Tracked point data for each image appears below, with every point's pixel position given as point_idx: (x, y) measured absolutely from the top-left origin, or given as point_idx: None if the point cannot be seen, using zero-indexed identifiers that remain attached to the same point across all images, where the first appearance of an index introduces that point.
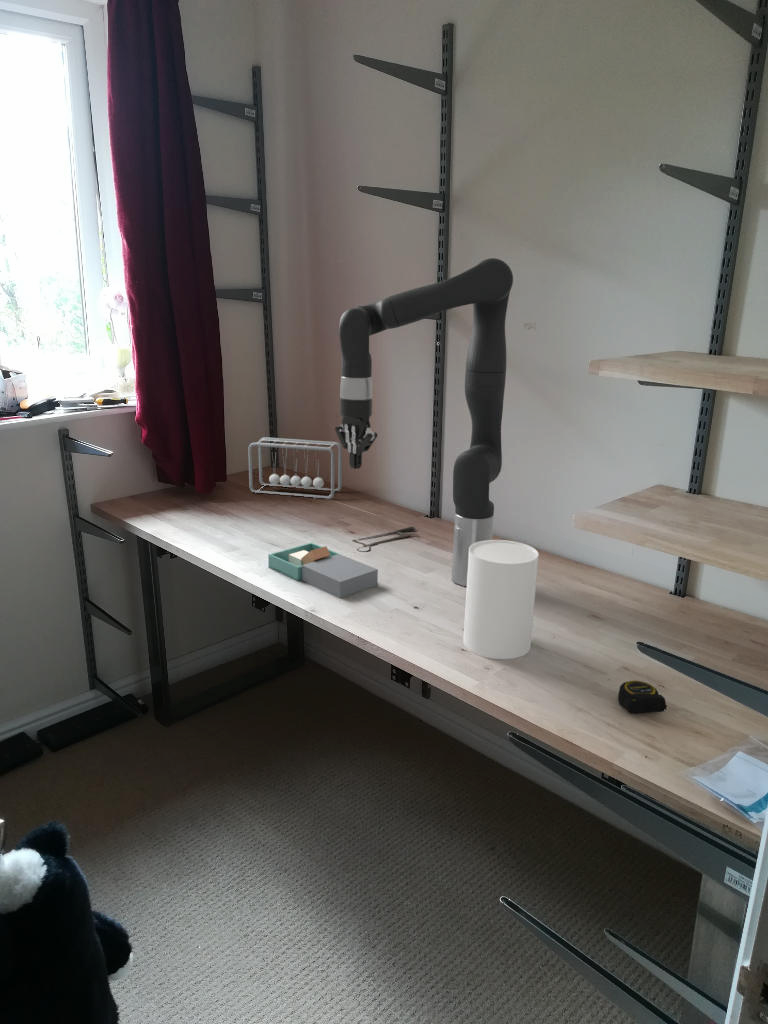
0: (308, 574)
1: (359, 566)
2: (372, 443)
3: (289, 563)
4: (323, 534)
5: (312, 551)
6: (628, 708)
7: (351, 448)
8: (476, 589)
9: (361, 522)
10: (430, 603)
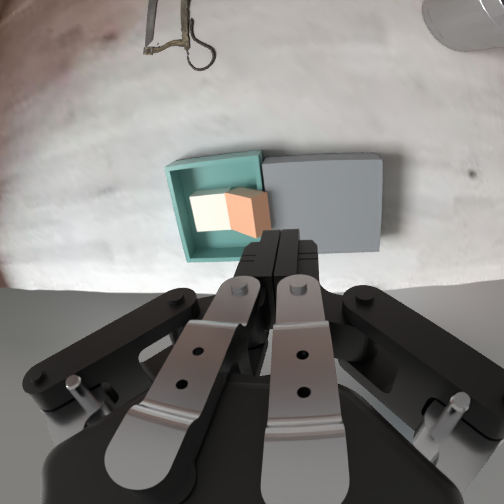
0: None
1: (347, 176)
2: (449, 335)
3: None
4: (95, 90)
5: (258, 234)
6: None
7: (265, 353)
8: None
9: (80, 5)
10: (477, 146)
